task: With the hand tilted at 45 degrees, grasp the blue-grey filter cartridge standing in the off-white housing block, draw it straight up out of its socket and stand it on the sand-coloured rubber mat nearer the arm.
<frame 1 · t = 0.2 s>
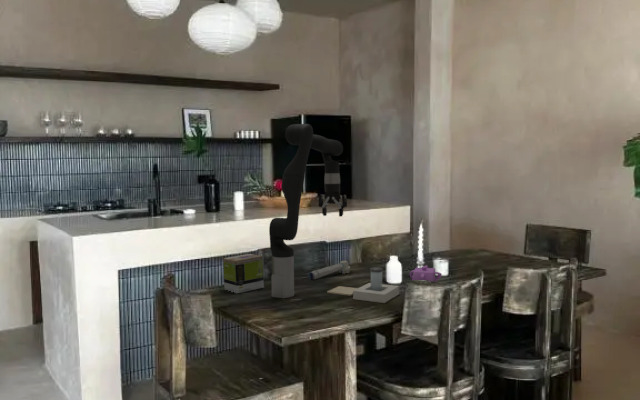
hand: (332, 216, 294), 29 cm above the table, tool pointing down, fingers open, 8 cm apart
mat: (344, 291, 264), on the table
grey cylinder: (330, 276, 295), on the table
teapot: (425, 289, 267), on the table
tea box: (244, 289, 270), on the table
housing: (376, 296, 254), on the table
cartridge: (376, 282, 254), in the housing
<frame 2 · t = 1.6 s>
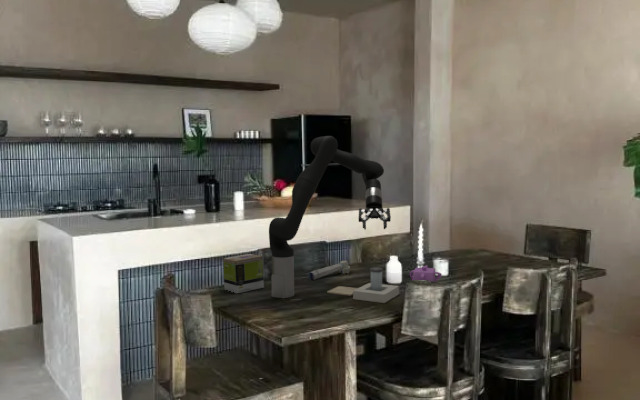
hand: (374, 228, 266), 27 cm above the table, tool tilted 45°, fingers open, 8 cm apart
nothing on the table moved.
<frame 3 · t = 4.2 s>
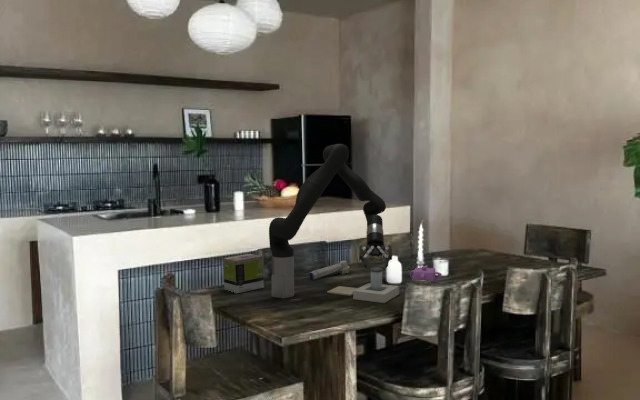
hand: (375, 266, 259), 11 cm above the table, tool tilted 45°, fingers open, 8 cm apart
nothing on the table moved.
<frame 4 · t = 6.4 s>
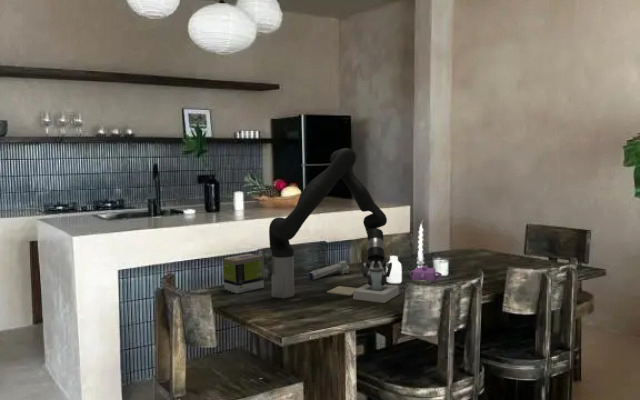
hand: (376, 284, 252), 6 cm above the table, tool tilted 45°, fingers closed on cartridge, 4 cm apart
cartridge: (376, 282, 254), in the housing, touching gripper
everything else where it was.
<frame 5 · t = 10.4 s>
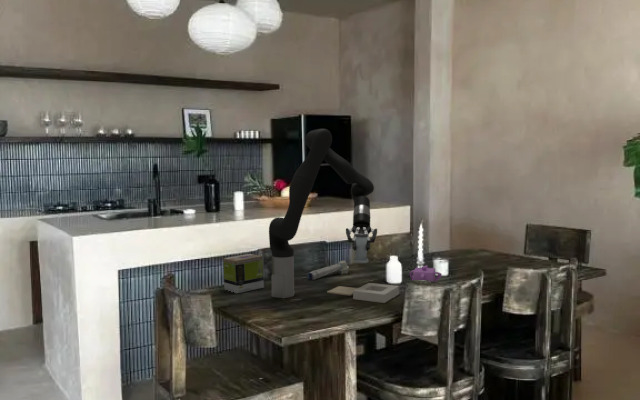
hand: (361, 249, 254), 20 cm above the table, tool tilted 45°, fingers closed on cartridge, 4 cm apart
cartridge: (361, 247, 256), point 20 cm above the table, touching gripper
everything else where it was.
when the fingers open (8 cm above the table, at t = 14.4 s): cartridge drops 1 cm, resting on mat.
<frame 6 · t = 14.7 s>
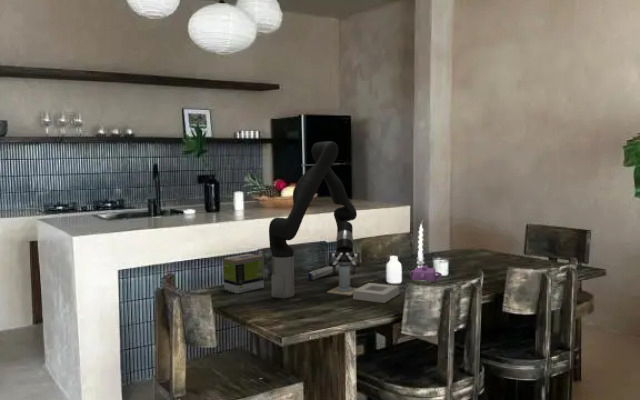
hand: (344, 273, 261), 8 cm above the table, tool tilted 45°, fingers open, 7 cm apart
cartridge: (344, 276, 263), on the mat, point 7 cm above the table
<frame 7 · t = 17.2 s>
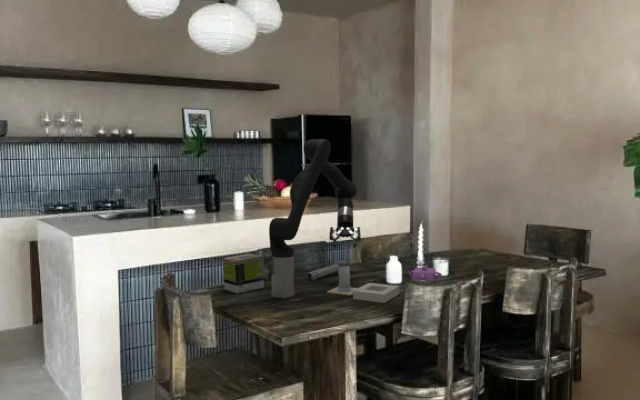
hand: (344, 246, 273), 18 cm above the table, tool tilted 45°, fingers open, 8 cm apart
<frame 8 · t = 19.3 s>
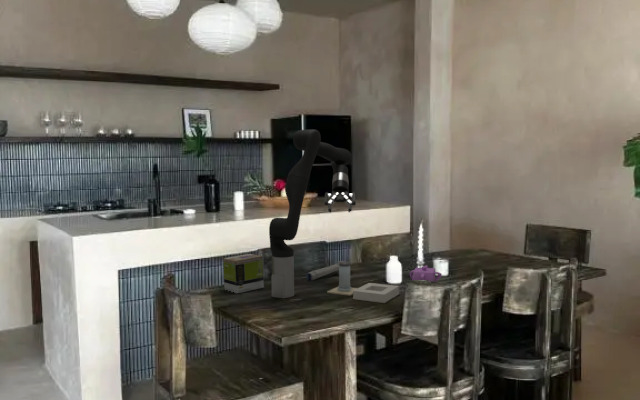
hand: (339, 211, 273), 34 cm above the table, tool tilted 45°, fingers open, 8 cm apart
at the end: cartridge inside the target area on the mat (0.2 cm from its centre), point 6.7 cm above the mat's base; cartridge tilted 1°; the gripper is holding nothing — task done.
